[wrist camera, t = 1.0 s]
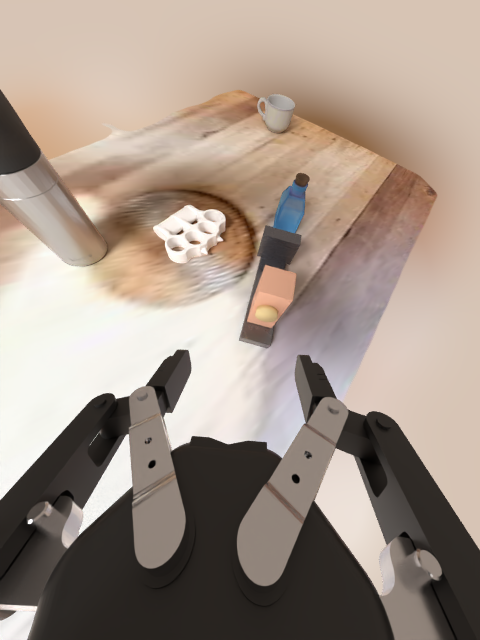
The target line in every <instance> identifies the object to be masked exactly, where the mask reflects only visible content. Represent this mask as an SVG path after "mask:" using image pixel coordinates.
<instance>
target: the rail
mask: <svg viewBox="0 0 480 640" xmlns="http://www.w3.org/2000/svg"><path fill="white" fill-rule="evenodd" d="M300 241H301V235H298V234H295V233H291V232H288V231H284V230H281V229H277V228H274V227H270V226H267V225H266V226H265V230H264V233H263V237H262V240H261V244H260V247H259V251H258V254H257V256H261V258H260V262H259V266H258V270H257V274H256V277H255V281H254V285H253V289H252V293H251V296H250V300H249V304H248V308H247V312H246V316H245V319H244V323H243V327H242V331H241V335H240V338H239V341H243V342H246V343H250V344H254V345H257V346H261V347H265V348H269V347H270V346H271V340H272V335H273V329H274V326H273V327H272V328H268V327H265V326H261V325H257V324H254V323H250V322H247V319H248V315H249V312H250V308H251V304H252V300H253V297H254V294H255V292H256V289H257V286H258V283H259V281H260V278H261V275H262V272H263V270H264V267H265V265H268V266H271V267H275V268H278V269H282V270H284V268H285V264H290V263H291V261H292V259H293V257H294V255H295V253H296V252H297V250H298V248H299V246H300Z"/></svg>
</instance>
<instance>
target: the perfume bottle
mask: <svg viewBox="0 0 480 640" xmlns="http://www.w3.org/2000/svg"><path fill="white" fill-rule="evenodd" d="M309 180H310V178H309V176H307V175H306V174H303V173H298V174H297V175H296V179H295V180H294V182H293V184H292V186H289V187H288V188H287V189H286V190H285V191H284V192H283V193H282V196H281V199H280V202H279V205H278V208H277V211H276V215H275V221H274V228H277V229H281V230H284V231H288V232H291V233H295V232H296V230H297V228H298V226H299V223H300V221H301V219H302V217H303V215H304V210H305V191H306V188H307V186H308V182H309Z"/></svg>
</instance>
